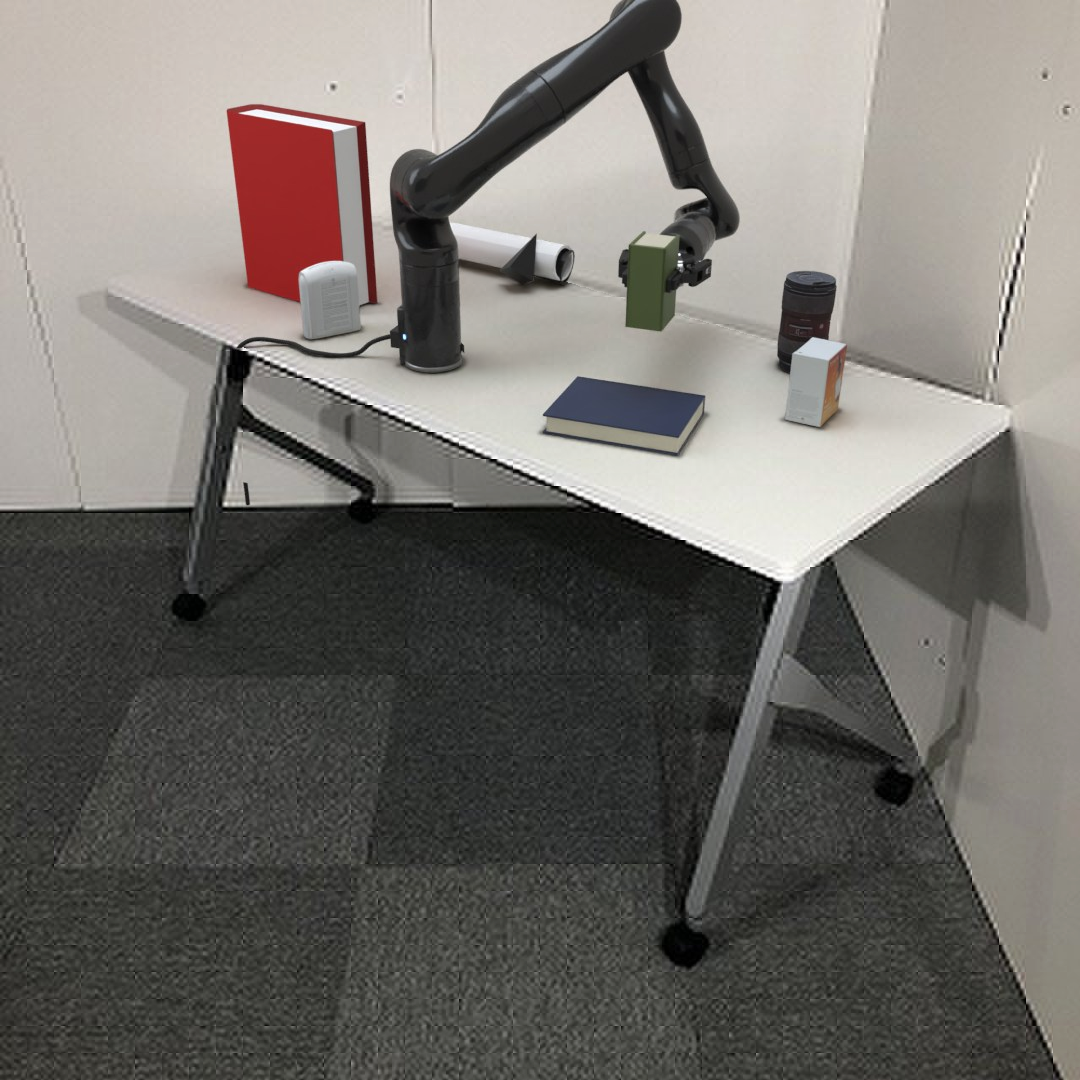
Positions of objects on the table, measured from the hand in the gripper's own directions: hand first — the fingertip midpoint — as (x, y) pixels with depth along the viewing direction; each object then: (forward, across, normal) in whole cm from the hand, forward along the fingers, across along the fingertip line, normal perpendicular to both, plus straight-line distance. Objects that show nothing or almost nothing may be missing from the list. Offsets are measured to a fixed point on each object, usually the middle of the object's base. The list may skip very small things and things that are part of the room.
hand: (647, 283), depth 169 cm
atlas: (+5, -1, +20) cm, 20 cm away
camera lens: (-26, +19, +20) cm, 38 cm away
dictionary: (-3, 0, +6) cm, 7 cm away
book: (-28, -73, +20) cm, 81 cm away
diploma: (-51, -47, +20) cm, 73 cm away
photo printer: (-12, -59, +20) cm, 63 cm away
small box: (-8, +24, +20) cm, 32 cm away
